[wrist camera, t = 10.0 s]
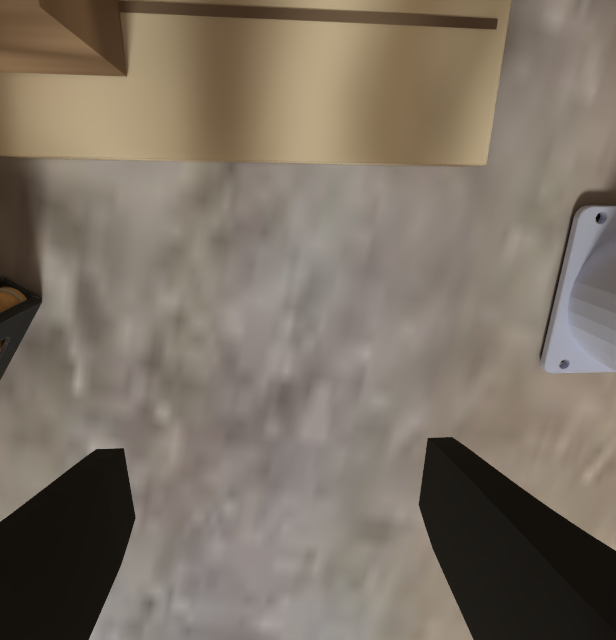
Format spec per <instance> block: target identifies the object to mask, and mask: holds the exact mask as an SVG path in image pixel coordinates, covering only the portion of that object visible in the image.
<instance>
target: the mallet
mask: <svg viewBox="0 0 616 640" xmlns="http://www.w3.org/2000/svg"><path fill="white" fill-rule="evenodd" d="M0 72H7V73H37V74H66V75H96V76H126V77H127V72H126V63H125V54H124V45H123V36H122V27H121V19H120V10H119V1H118V0H0Z"/></svg>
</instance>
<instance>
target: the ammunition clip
mask: <svg viewBox="0 0 616 640" xmlns="http://www.w3.org/2000/svg"><path fill="white" fill-rule="evenodd" d="M41 303H42V301H41V299H40V297H38V296H36V295H34V294H32V293H31V292H29V291H27V290H25V289H23V288H22V287H20V286H18V285H16V284H14V283H12V282H11V281H9V280H7V279H5V278H3V277H2V276H1V277H0V380H1V378H2V376H3V374H4V372H5V370H6V368H7V367H8V365H9V363H10V361H11V359H12V357H13V355H14V353H15V352H16V350H17V348H18V346H19V344H20V342H21V340H22V339H23V337H24V335H25V333H26V331H27V329H28V327H29V325H30V324H31V322H32V320H33V318H34V316H35V314H36V312H37V311H38V309H39V307H40V305H41Z"/></svg>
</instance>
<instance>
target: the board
mask: <svg viewBox="0 0 616 640" xmlns="http://www.w3.org/2000/svg"><path fill="white" fill-rule="evenodd" d="M118 1H119V10H120V19H121V27H122V36H123V45H124V54H125V63H126V72H127V77H126V76H96V75H66V74H37V73H7V72H0V156H4V157H13V158H41V159H94V160H147V161H200V162H253V163H306V164H359V165H413V166H466V167H469V166H479V165H486V164H487V157H488V151H489V144H490V137H491V131H492V124H493V118H494V111H495V105H496V98H497V91H498V85H499V78H500V72H501V65H502V59H503V52H504V45H505V39H506V32H507V26H508V19H509V13H510V6H511V0H118Z"/></svg>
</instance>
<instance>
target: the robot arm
mask: <svg viewBox="0 0 616 640" xmlns="http://www.w3.org/2000/svg"><path fill="white" fill-rule="evenodd" d="M599 213H600V219H599V220H598V221H597V222H596V216H597V214H599ZM562 360H564V362H563V363H562V364H561V365H559V364H560V362H561V361H562ZM541 367H542V368H543V369H544V370H545V371H547V372H548V373H584V372H616V206H595V205H587V206H583V207H581V208H579V209H578V211H577V212H576V213H575V216H574V219H573V223H572V227H571V232H570V236H569V240H568V245H567V249H566V253H565V258H564V262H563V267H562V271H561V275H560V280H559V284H558V288H557V293H556V297H555V301H554V306H553V310H552V314H551V319H550V323H549V327H548V332H547V336H546V340H545V345H544V349H543V353H542V358H541ZM419 507H420V510H421V513H422V517H423V520H424V523H425V527H426V530H427V533H428V536H429V539H430V542H431V545H432V548H433V550H434V552H435V555H436V557H437V559H438V561H439V564H440V566H441V568H442V570H443V573H444V575H445V577H446V579H447V582H448V584H449V586H450V588H451V591H452V593H453V595H454V597H455V599H456V602H457V604H458V606H459V608H460V610H461V613H462V615H463V617H464V619H465V622H466V624H467V626H468V628H469V630H470V633H471V635H472V637H473V639H474V640H616V551H615V550H614V549H612V548H610V547H609V546H607V545H605V544H604V543H602V542H601V541H599V540H597V539H596V538H594V537H593V536H591V535H589V534H588V533H586V532H585V531H583V530H582V529H580V528H579V527H577V526H576V525H574V524H573V523H571V522H570V521H568V520H567V519H565V518H564V517H562V516H561V515H559V514H558V513H556V512H555V511H553V510H552V509H550V508H549V507H548V506H546V505H545V504H543V503H542V502H540V501H539V500H537V499H536V498H535V497H533V496H532V495H530V494H529V493H528V492H526V491H525V490H524V489H522V488H521V487H519V486H518V485H517V484H515V483H514V482H513V481H511V480H510V479H508V478H507V477H506V476H504V475H503V474H502V473H500V472H499V471H498V470H496V469H495V468H494V467H492V466H491V465H490V464H488V463H487V462H486V461H484V460H483V459H482V458H480V457H479V456H478V455H476V454H475V453H474V452H472V451H471V450H470V449H468V448H467V447H466V446H464V445H463V444H461V443H460V442H458V441H457V440H455V439H454V438H452V437H445V438H428V441H427V448H426V455H425V463H424V470H423V478H422V485H421V492H420V500H419ZM134 521H135V512H134V506H133V500H132V495H131V489H130V483H129V477H128V471H127V465H126V459H125V453H124V448H120V449H96V450H95V451H93V452H92V453H90V454H89V455H88V456H86V457H85V458H84V459H82V460H81V461H80V462H78V463H77V464H76V465H74V466H73V467H72V468H70V469H69V470H68V471H66V472H65V473H64V474H63V475H61V476H60V477H59V478H57V479H56V480H55V481H54V482H52V483H51V484H50V485H48V486H47V487H46V488H44V489H43V490H42V491H41V492H39V493H38V494H37V495H35V496H34V497H33V498H31V499H30V500H29V501H27V502H26V503H25V504H23V505H22V506H21V507H19V508H18V509H17V510H16V511H14V512H13V513H12V514H10V515H9V516H8V517H6V518H5V519H4V520H2V521H1V522H0V640H89V638H90V635H91V633H92V631H93V628H94V626H95V624H96V622H97V619H98V617H99V615H100V613H101V610H102V608H103V606H104V603H105V601H106V599H107V596H108V594H109V592H110V589H111V587H112V585H113V583H114V580H115V578H116V576H117V573H118V571H119V568H120V566H121V563H122V560H123V557H124V554H125V551H126V548H127V545H128V541H129V538H130V535H131V531H132V528H133V524H134Z"/></svg>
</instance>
